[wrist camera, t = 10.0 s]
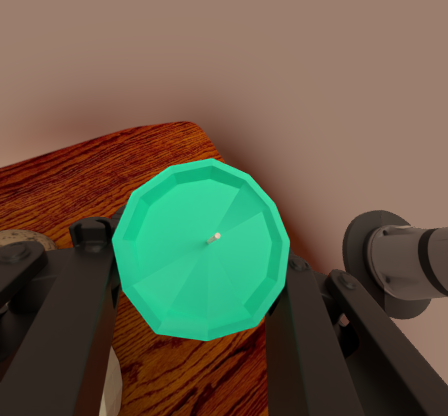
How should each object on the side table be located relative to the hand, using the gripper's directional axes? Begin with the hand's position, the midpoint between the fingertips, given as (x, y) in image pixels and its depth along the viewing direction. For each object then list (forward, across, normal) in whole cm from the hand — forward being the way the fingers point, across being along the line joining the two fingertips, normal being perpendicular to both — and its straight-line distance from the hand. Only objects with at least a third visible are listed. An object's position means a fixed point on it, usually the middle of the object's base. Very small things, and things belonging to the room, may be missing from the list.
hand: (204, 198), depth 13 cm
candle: (0, 0, -5) cm, 5 cm away
